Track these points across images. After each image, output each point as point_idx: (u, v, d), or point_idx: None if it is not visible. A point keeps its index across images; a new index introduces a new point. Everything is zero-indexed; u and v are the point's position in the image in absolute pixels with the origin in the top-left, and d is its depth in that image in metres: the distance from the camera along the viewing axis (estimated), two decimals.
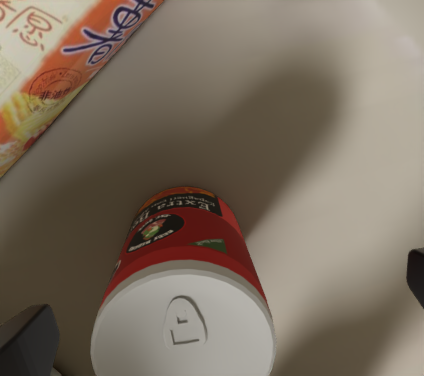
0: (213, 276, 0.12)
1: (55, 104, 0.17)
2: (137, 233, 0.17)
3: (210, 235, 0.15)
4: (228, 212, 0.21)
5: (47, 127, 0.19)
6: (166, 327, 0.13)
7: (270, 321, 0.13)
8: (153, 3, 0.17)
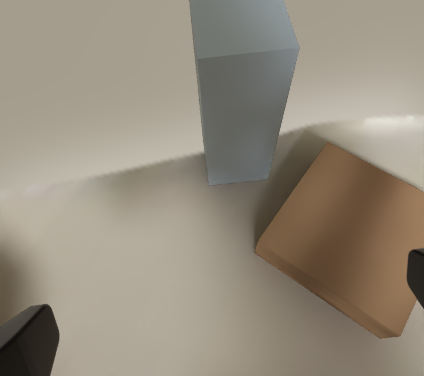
0: None
1: None
2: None
3: None
4: None
5: None
6: None
7: None
8: None
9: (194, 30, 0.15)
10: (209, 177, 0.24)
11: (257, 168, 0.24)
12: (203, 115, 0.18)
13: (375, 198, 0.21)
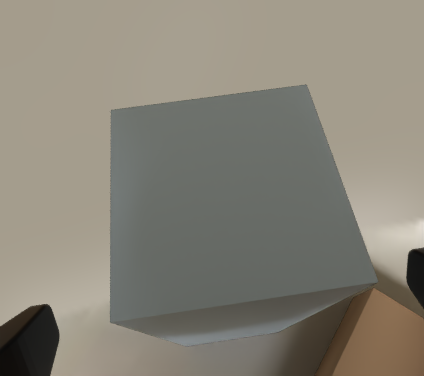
0: None
1: None
2: None
3: None
4: None
5: None
6: None
7: None
8: None
9: (113, 217, 0.06)
10: (185, 345, 0.15)
11: (262, 332, 0.15)
12: (156, 335, 0.09)
13: None
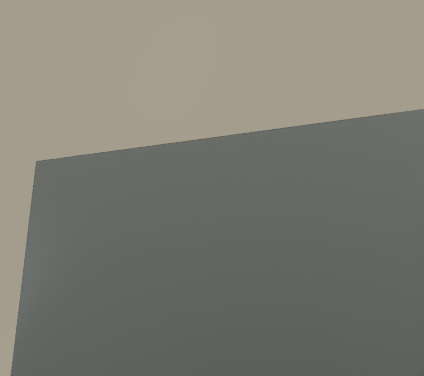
0: None
1: None
2: None
3: None
4: None
5: None
6: None
7: None
8: None
9: None
10: None
11: None
12: None
13: None
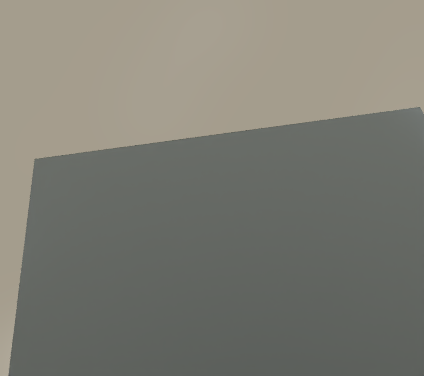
0: None
1: None
2: None
3: None
4: None
5: None
6: None
7: None
8: None
9: None
10: None
11: None
12: None
13: None
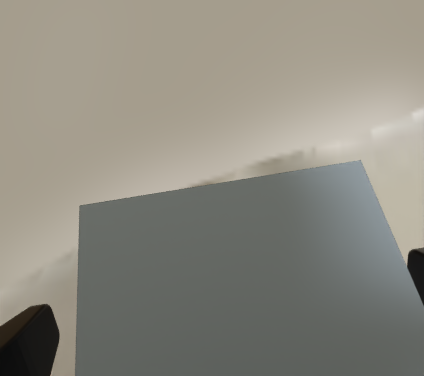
0: None
1: None
2: None
3: None
4: None
5: None
6: None
7: None
8: None
9: None
10: None
11: None
12: None
13: None
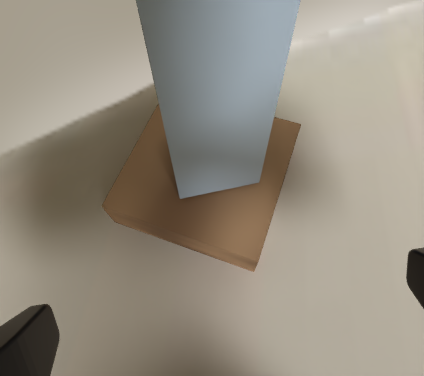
0: None
1: None
2: None
3: None
4: None
5: None
6: None
7: None
8: None
9: None
10: (179, 187, 0.17)
11: (245, 169, 0.17)
12: (156, 87, 0.11)
13: None
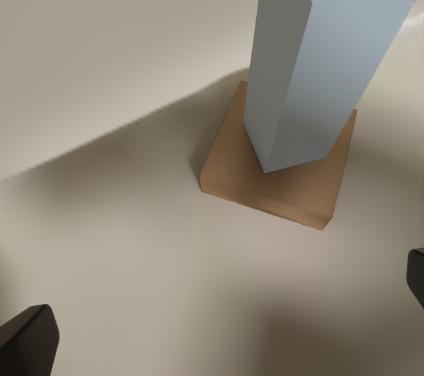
0: None
1: None
2: None
3: None
4: None
5: None
6: None
7: None
8: None
9: None
10: (268, 163, 0.21)
11: (320, 146, 0.21)
12: (290, 83, 0.15)
13: None
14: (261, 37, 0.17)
